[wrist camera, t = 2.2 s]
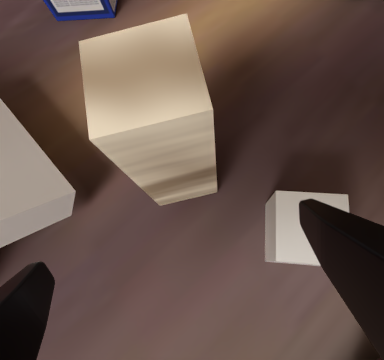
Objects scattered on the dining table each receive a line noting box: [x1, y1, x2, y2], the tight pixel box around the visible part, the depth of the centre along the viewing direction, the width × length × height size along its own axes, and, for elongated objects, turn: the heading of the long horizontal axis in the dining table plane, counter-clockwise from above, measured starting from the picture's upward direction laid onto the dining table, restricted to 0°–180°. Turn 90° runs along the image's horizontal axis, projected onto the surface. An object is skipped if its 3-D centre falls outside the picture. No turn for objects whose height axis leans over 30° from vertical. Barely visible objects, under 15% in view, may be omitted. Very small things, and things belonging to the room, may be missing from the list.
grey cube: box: [265, 191, 349, 266], centre depth 19 cm, size 4×4×4 cm
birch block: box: [79, 14, 217, 205], centre depth 18 cm, size 5×5×13 cm
